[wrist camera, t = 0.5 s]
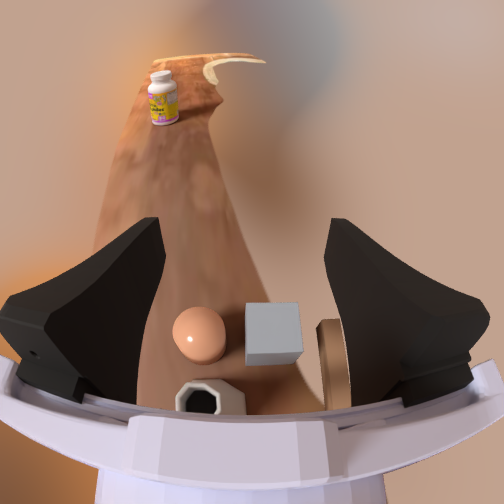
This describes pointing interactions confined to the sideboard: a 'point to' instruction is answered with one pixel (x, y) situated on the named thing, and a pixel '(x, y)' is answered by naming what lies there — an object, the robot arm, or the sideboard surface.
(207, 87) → the sideboard surface
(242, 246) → the sideboard surface
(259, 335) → the slate block
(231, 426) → the robot arm
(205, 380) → the flask
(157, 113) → the supplement bottle
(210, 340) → the peach egg shape
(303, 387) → the sideboard surface
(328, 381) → the walnut rail
